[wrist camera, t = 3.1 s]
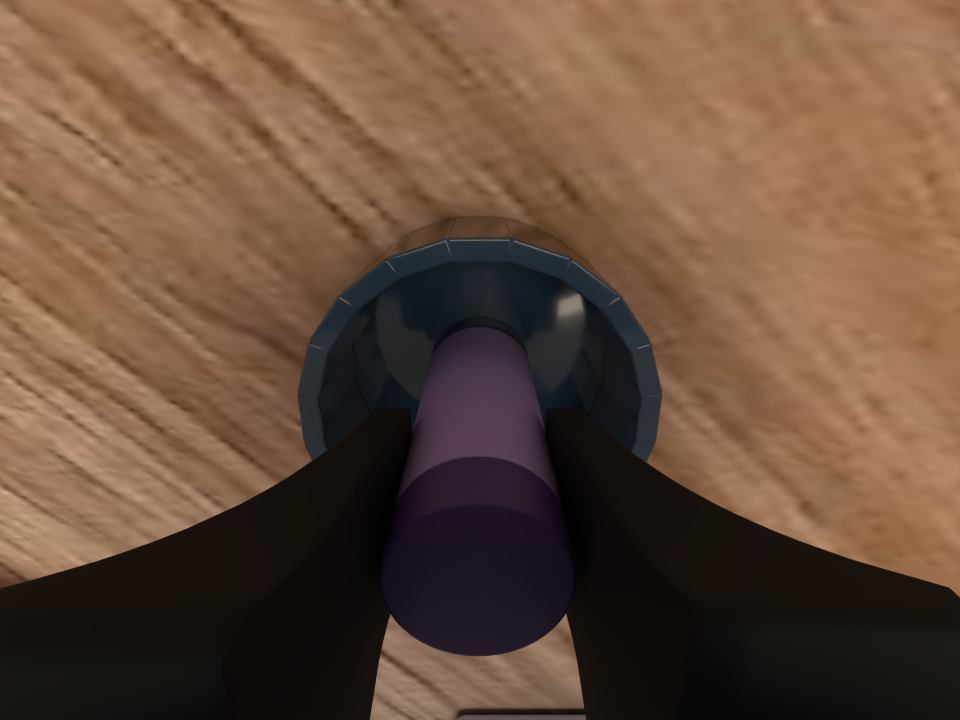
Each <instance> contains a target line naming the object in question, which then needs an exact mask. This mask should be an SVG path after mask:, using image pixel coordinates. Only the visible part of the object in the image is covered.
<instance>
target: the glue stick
mask: <svg viewBox="0 0 960 720" xmlns="http://www.w3.org/2000/svg"><path fill="white" fill-rule="evenodd" d="M379 583H380V589H381V593H382V596H383V599H384V602H385V604H386V606H387V608H388V610H389V612H390V614H391V615H392V616H393V618H394V619H395V621H396V622H397V623H398V624H399V625H400V626H401V627H402V628H403V629H404V630H405V631H406V632H408V633H409V634H410V635H411V636H413V637H414V638H416V639H417V640H419V641H421V642H422V643H425V644H427V645H429V646H431V647H433V648H436V649H439V650H441V651H445V652H449V653H453V654H459V655H465V656H491V655H498V654H504V653H508V652H512V651H515V650H518V649H521V648H523V647H526V646H528V645H530V644H532V643H534V642H536V641H537V640H539V639H541V638H542V637H544V636H545V635H546V634H547V633H549V632H550V631H551V630H552V629H553V628H554V627H555V626H556V625H557V624H558V623H559V622H560V621H561V620H562V618H563V617H564V615H565V614H566V612H567V610H568V609H569V607H570V605H571V602H572V599H573V596H574V593H575V589H576V583H577V571H576V565H575V560H574V555H573V551H572V547H571V542H570V538H569V534H568V529H567V525H566V520H565V516H564V513H563V507H562V503H561V499H560V494H559V490H558V486H557V481H556V477H555V473H554V469H553V465H552V461H551V457H550V452H549V448H548V444H547V439H546V435H545V429H544V425H543V420H542V416H541V412H540V407H539V403H538V399H537V394H536V390H535V386H534V381H533V377H532V372H531V368H530V364H529V359H528V355H527V351H526V348H525V346H524V344H523V342H522V340H521V339H520V337H519V336H518V335H517V334H516V333H515V332H514V331H513V330H512V329H511V328H509V327H508V326H506V325H505V324H503V323H500V322H498V321H495V320H492V319H487V318H473V319H467V320H464V321H461V322H459V323H457V324H454V325H453V326H451V327H450V328H448V329H447V330H446V331H445V332H444V333H443V334H442V335H441V336H440V338H439V339H438V341H437V342H436V344H435V346H434V349H433V352H432V356H431V360H430V364H429V368H428V372H427V376H426V380H425V384H424V388H423V392H422V396H421V400H420V404H419V409H418V413H417V417H416V421H415V425H414V429H413V433H412V438H411V442H410V446H409V450H408V454H407V458H406V462H405V466H404V470H403V474H402V478H401V482H400V486H399V490H398V494H397V498H396V502H395V506H394V511H393V514H392V518H391V522H390V526H389V531H388V535H387V539H386V543H385V547H384V551H383V555H382V559H381V564H380V570H379Z"/></svg>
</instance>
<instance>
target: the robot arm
mask: <svg viewBox="0 0 960 720" xmlns="http://www.w3.org/2000/svg"><path fill="white" fill-rule="evenodd" d="M545 435H546V439H547V444H548V448H549V452H550V457H551V461H552V465H553V469H554V473H555V477H556V481H557V486H558V490H559V494H560V499H561V503H562V507H563V513H564V516H565V520H566V525H567V529H568V534H569V538H570V542H571V547H572V551H573V555H574V560H575V565H576V571H577V583H576V589H575V593H574V596H573V599H572V602H571V605H570V607H569V609H568V610H567V612H566V614H567V618H568V622H569V626H570V630H571V634H572V638H573V643H574V648H575V653H576V657H577V662H578V669H579V676H580V682H581V689H582V696H583V702H584V709H585V715H463V716H461V717H459V718H458V719H457V720H960V597H959V596H958V595H957V594H956V593H955V592H953V591H952V590H951V589H950V588H948V587H945V586H942V585H938V584H935V583H931V582H928V581H924V580H921V579H917V578H914V577H910V576H907V575H903V574H900V573H896V572H893V571H889V570H886V569H882V568H879V567H875V566H872V565H868V564H865V563H862V562H858V561H855V560H852V559H849V558H846V557H843V556H840V555H837V554H834V553H832V552H829V551H826V550H823V549H820V548H817V547H815V546H812V545H809V544H806V543H803V542H801V541H798V540H795V539H793V538H790V537H788V536H785V535H783V534H780V533H778V532H775V531H773V530H770V529H768V528H766V527H764V526H761V525H759V524H757V523H755V522H752V521H750V520H748V519H746V518H743V517H741V516H739V515H737V514H734V513H732V512H730V511H728V510H726V509H724V508H722V507H720V506H718V505H716V504H714V503H712V502H710V501H709V500H707V499H705V498H703V497H701V496H699V495H698V494H696V493H694V492H692V491H690V490H689V489H687V488H685V487H683V486H681V485H680V484H678V483H677V482H675V481H673V480H672V479H670V478H668V477H667V476H665V475H664V474H662V473H661V472H659V471H658V470H656V469H655V468H653V467H652V466H650V465H649V464H647V463H646V462H645V461H643V460H642V459H640V458H639V457H638V456H636V455H635V454H633V453H632V452H631V451H629V450H628V449H627V448H626V447H624V446H623V445H622V444H620V443H619V442H618V441H617V440H615V439H614V438H613V437H612V436H610V435H609V434H608V433H607V432H605V431H604V430H603V429H602V428H601V427H599V426H598V425H597V424H596V423H594V422H593V421H592V420H591V419H590V418H588V417H587V416H586V415H585V414H583V413H582V412H581V411H579V410H578V409H546V428H545ZM411 438H412V427H411V409H379V410H378V411H376V412H375V413H374V414H372V415H371V416H370V417H369V418H367V419H366V420H365V421H364V422H362V423H361V424H360V425H359V426H358V427H356V428H355V429H354V430H353V431H351V432H350V433H349V434H348V435H346V436H345V437H344V438H343V439H341V440H340V441H339V442H337V443H336V444H335V445H334V446H332V447H331V448H330V449H328V450H327V451H326V452H324V453H323V454H321V455H320V456H318V457H317V458H316V459H314V460H313V461H311V462H310V463H308V464H307V465H305V466H304V467H303V468H301V469H300V470H298V471H297V472H295V473H294V474H292V475H291V476H289V477H288V478H286V479H284V480H283V481H281V482H279V483H278V484H276V485H274V486H273V487H271V488H269V489H267V490H266V491H264V492H262V493H260V494H258V495H257V496H255V497H253V498H251V499H249V500H247V501H245V502H243V503H242V504H240V505H237V506H235V507H233V508H231V509H229V510H227V511H224V512H222V513H220V514H218V515H216V516H214V517H211V518H209V519H207V520H205V521H203V522H200V523H198V524H196V525H194V526H192V527H190V528H187V529H185V530H182V531H180V532H177V533H175V534H172V535H170V536H167V537H164V538H162V539H159V540H157V541H154V542H151V543H149V544H146V545H143V546H140V547H137V548H135V549H132V550H129V551H126V552H123V553H120V554H118V555H114V556H111V557H108V558H105V559H102V560H99V561H96V562H93V563H89V564H86V565H82V566H79V567H76V568H72V569H69V570H65V571H62V572H58V573H55V574H52V575H48V576H45V577H41V578H38V579H34V580H31V581H27V582H24V583H20V584H16V585H12V586H9V587H5V588H2V589H1V590H0V720H370V715H371V708H372V702H373V696H374V689H375V683H376V676H377V670H378V664H379V659H380V654H381V649H382V644H383V640H384V636H385V632H386V628H387V624H388V620H389V616H390V612H389V610H388V608H387V606H386V604H385V602H384V599H383V596H382V593H381V589H380V583H379V570H380V564H381V559H382V555H383V551H384V547H385V543H386V539H387V535H388V531H389V526H390V522H391V518H392V514H393V511H394V506H395V502H396V498H397V494H398V490H399V486H400V482H401V478H402V474H403V470H404V466H405V462H406V458H407V454H408V450H409V446H410V442H411Z"/></svg>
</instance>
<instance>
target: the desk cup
mask: <svg viewBox="0 0 960 720" xmlns="http://www.w3.org/2000/svg"><path fill="white" fill-rule="evenodd" d="M473 318H487V319H492V320H495V321H498V322H500V323H503V324H505V325H506V326H508V327H509V328H511V329H512V330H513V331H514V332H515V333H516V334H517V335H518V336H519V337H520V339H521V340H522V342H523V344H524V346H525V348H526V351H527V355H528V359H529V364H530V368H531V372H532V377H533V381H534V386H535V390H536V394H537V399H538V403H539V407H540V412H541V416H542V420H543V425H544V429H545V428H546V409H578V410H579V411H581V412H582V413H583V414H585V415H586V416H587V417H588V418H590V419H591V420H592V421H593V422H594V423H596V424H597V425H598V426H599V427H601V428H602V429H603V430H604V431H605V432H607V433H608V434H609V435H610V436H612V437H613V438H614V439H615V440H617V441H618V442H619V443H620V444H622V445H623V446H624V447H626V448H627V449H628V450H629V451H631V452H632V453H633V454H635V455H636V456H638V457H639V458H640V459H642V460H643V461H645V462H647V460H648V458H649V456H650V454H651V452H652V450H653V448H654V444H655V443H656V437H657V430H658V422H659V415H660V408H661V400H662V394H661V393H662V389H661V385H660V380H659V376H658V371H657V367H656V362H655V358H654V353H653V349H652V344H651V343H650V340H649V338H648V336H647V335H646V333H645V331H644V330H643V328H642V327H641V325H640V324H639V322H638V321H637V319H636V318H635V316H634V314H633V313H632V311H631V310H630V308H629V307H628V305H627V304H626V302H625V300H624V299H623V297H622V296H621V295H620V294H619V293H618V292H617V291H616V290H615V289H614V288H613V287H612V286H611V285H610V284H609V283H608V282H607V281H606V280H605V279H604V278H603V277H602V276H601V275H600V274H599V273H598V272H597V270H596V269H595V268H594V267H593V266H592V265H591V264H590V263H589V262H588V261H586V260H585V259H584V258H582V257H581V256H580V255H578V254H577V253H576V252H575V251H574V250H572V249H571V248H570V247H569V246H567V245H566V244H565V243H563V242H562V241H560V240H559V239H558V238H556V237H555V236H554V235H551V234H550V233H547V232H545V231H543V230H541V229H539V228H537V227H534V226H531V225H528V224H525V223H522V222H519V221H515V220H510V219H505V218H500V217H487V216H473V217H459V218H454V219H450V220H445V221H440V222H437V223H434V224H432V225H429V226H426V227H423V228H421V229H419V230H417V231H415V232H412V233H410V234H409V235H406V236H405V237H403V238H402V239H401V240H399V241H398V242H396V243H395V244H394V245H392V246H391V247H389V248H388V249H387V250H386V251H385V252H384V253H382V254H381V255H380V256H379V257H377V258H376V259H375V260H373V261H372V262H371V263H370V264H369V265H368V266H367V267H366V268H365V269H364V270H363V271H362V272H361V273H360V274H359V275H358V276H357V277H356V278H355V279H354V280H353V281H352V282H351V283H350V284H349V285H348V286H347V287H346V288H345V289H344V290H343V291H342V292H341V293H340V294H339V295H338V297H337V298H336V300H335V301H334V303H333V304H332V306H331V307H330V309H329V311H328V312H327V314H326V315H325V317H324V318H323V320H322V321H321V323H320V324H319V326H318V328H317V329H316V331H315V332H314V334H313V335H312V337H311V338H310V342H309V343H308V346H307V351H306V356H305V360H304V365H303V369H302V374H301V378H300V383H299V387H298V403H299V410H300V418H301V425H302V432H303V440H304V444H305V447H306V449H307V451H308V453H309V455H310V457H311V459H312V461H313V460H314V459H316V458H317V457H318V456H320V455H321V454H323V453H324V452H326V451H327V450H328V449H330V448H331V447H332V446H334V445H335V444H336V443H337V442H339V441H340V440H341V439H343V438H344V437H345V436H346V435H348V434H349V433H350V432H351V431H353V430H354V429H355V428H356V427H358V426H359V425H360V424H361V423H362V422H364V421H365V420H366V419H367V418H369V417H370V416H371V415H372V414H374V413H375V412H376V411H378V410H379V409H411V427H412V433H413V429H414V425H415V421H416V417H417V413H418V409H419V404H420V400H421V396H422V392H423V388H424V384H425V380H426V376H427V372H428V368H429V364H430V360H431V356H432V352H433V349H434V346H435V344H436V342H437V341H438V339H439V338H440V336H441V335H442V334H443V333H444V332H445V331H446V330H447V329H448V328H450V327H451V326H453V325H454V324H457V323H459V322H461V321H464V320H467V319H473Z"/></svg>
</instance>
